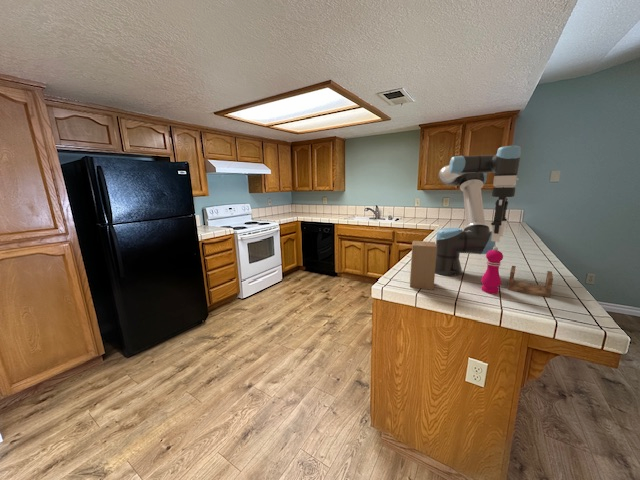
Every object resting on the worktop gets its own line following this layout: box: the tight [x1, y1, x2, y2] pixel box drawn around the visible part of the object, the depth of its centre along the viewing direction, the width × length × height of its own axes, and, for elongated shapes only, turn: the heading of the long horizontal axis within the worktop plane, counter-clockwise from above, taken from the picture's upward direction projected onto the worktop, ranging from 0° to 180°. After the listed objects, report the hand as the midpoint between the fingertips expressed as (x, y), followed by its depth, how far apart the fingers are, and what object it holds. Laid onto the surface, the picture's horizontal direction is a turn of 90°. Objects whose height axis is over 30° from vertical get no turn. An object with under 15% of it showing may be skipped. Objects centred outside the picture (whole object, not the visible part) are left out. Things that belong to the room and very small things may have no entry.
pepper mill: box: [480, 246, 504, 295], centre depth 110 cm, size 7×7×20 cm
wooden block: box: [409, 240, 437, 291], centre depth 118 cm, size 10×10×20 cm
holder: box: [507, 265, 554, 298], centre depth 113 cm, size 14×11×8 cm
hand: (497, 238), depth 107 cm, fingers open, 13 cm apart
